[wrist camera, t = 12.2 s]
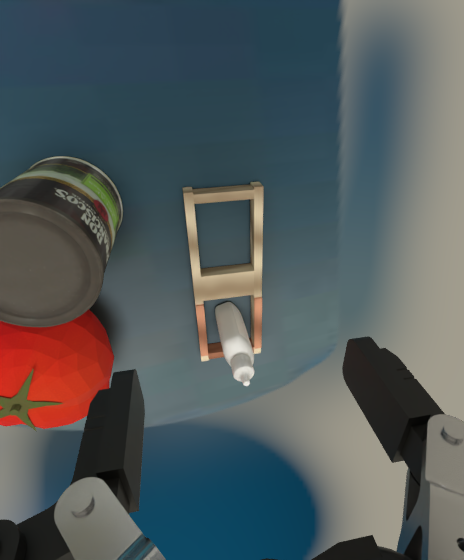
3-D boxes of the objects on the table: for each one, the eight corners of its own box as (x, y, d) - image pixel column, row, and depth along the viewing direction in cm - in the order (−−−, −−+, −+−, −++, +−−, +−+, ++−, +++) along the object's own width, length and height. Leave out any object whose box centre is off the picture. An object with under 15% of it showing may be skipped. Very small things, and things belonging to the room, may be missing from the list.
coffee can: (84, 136, 33) (38, 171, 21) (141, 225, 38) (130, 294, 26) (-7, 183, 34) (-102, 242, 22) (61, 264, 39) (16, 347, 27)
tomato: (-32, 312, 40) (-112, 408, 29) (55, 249, 38) (7, 326, 26) (70, 381, 48) (40, 478, 37) (147, 332, 46) (141, 419, 34)
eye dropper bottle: (247, 300, 46) (270, 364, 36) (241, 332, 49) (261, 400, 39) (215, 299, 45) (230, 364, 35) (211, 332, 48) (223, 402, 38)
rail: (182, 187, 37) (183, 194, 35) (258, 181, 38) (264, 187, 36) (200, 351, 49) (201, 362, 47) (257, 343, 50) (261, 354, 48)
